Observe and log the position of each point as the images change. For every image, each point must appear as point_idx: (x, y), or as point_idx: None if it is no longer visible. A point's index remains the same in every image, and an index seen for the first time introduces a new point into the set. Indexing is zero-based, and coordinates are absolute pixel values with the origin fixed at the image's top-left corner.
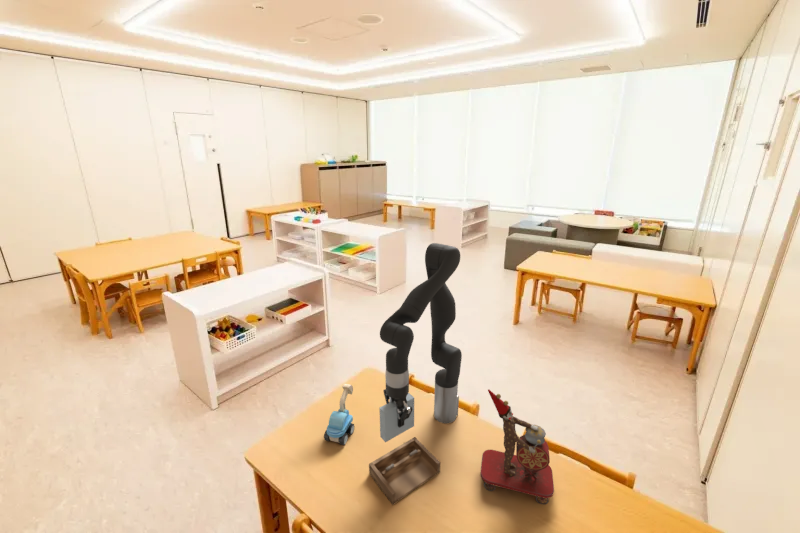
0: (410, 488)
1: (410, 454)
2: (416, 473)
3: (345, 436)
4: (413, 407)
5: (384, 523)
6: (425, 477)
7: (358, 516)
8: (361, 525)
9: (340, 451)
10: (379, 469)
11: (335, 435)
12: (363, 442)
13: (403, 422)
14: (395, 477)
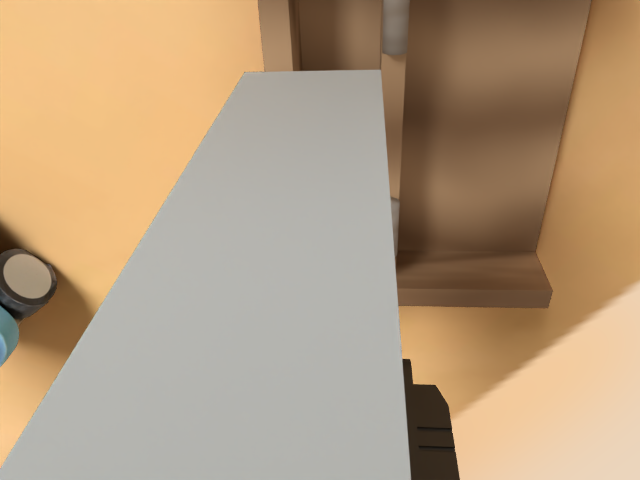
0: (547, 150)
1: (402, 53)
2: (496, 48)
3: (15, 291)
4: (395, 353)
5: (564, 324)
6: (572, 12)
7: (455, 376)
8: (495, 383)
9: (88, 297)
10: None
11: (6, 358)
12: (68, 179)
13: (451, 456)
14: (421, 178)
